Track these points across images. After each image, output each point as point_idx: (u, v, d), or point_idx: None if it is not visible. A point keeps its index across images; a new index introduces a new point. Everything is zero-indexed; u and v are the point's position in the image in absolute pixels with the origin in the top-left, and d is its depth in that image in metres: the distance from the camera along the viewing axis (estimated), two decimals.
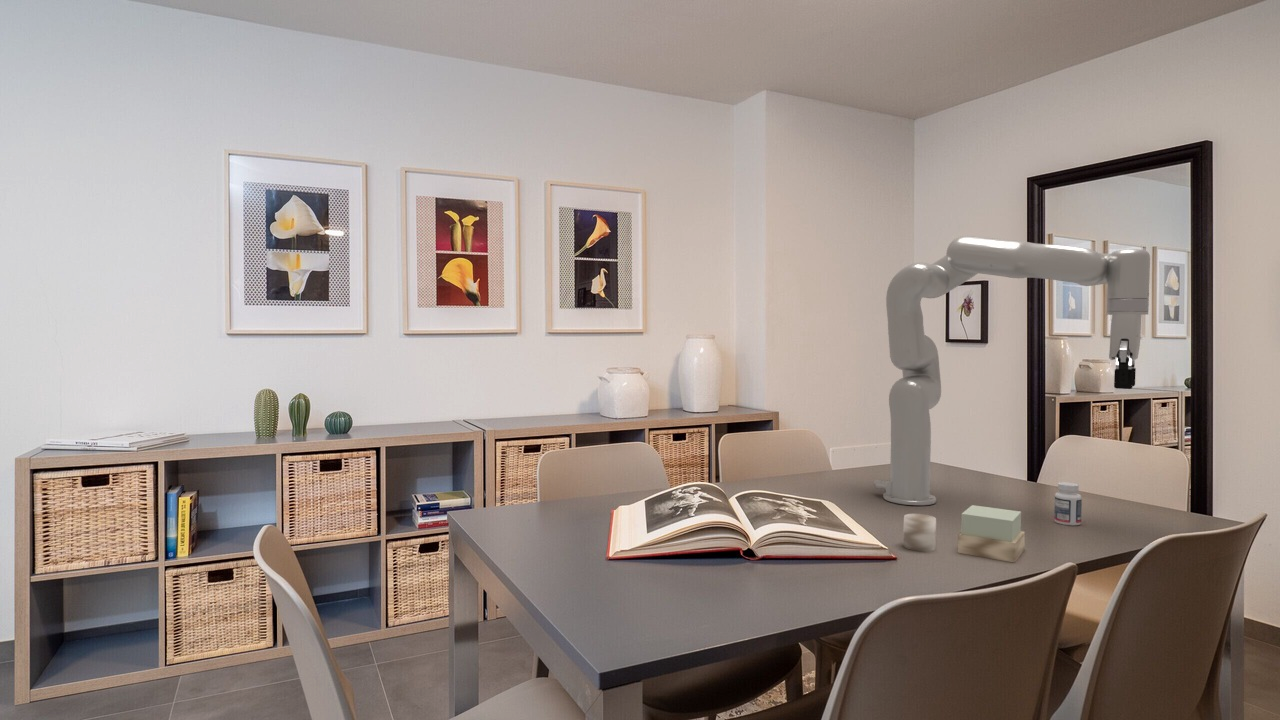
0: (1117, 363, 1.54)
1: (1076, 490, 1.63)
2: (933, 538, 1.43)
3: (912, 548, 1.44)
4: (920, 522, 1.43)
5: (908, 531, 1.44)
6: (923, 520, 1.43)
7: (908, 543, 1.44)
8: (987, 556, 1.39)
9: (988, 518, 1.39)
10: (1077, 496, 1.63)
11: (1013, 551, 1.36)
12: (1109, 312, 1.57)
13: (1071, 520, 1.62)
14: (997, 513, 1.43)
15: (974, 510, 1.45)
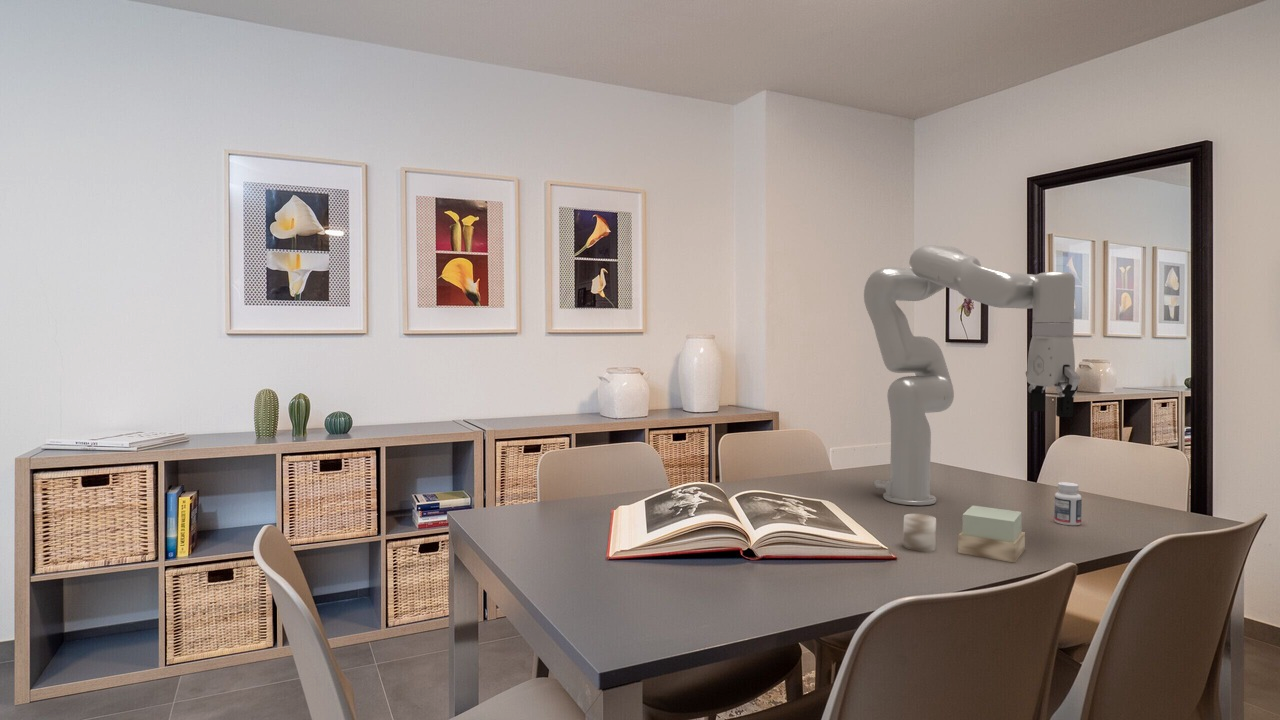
0: (1062, 390, 1.47)
1: (1076, 490, 1.63)
2: (933, 538, 1.43)
3: (912, 548, 1.44)
4: (920, 522, 1.43)
5: (908, 531, 1.44)
6: (923, 520, 1.43)
7: (908, 543, 1.44)
8: (987, 556, 1.39)
9: (989, 519, 1.39)
10: (1077, 496, 1.63)
11: (1013, 551, 1.36)
12: (1043, 336, 1.50)
13: (1071, 520, 1.62)
14: (998, 513, 1.42)
15: (975, 510, 1.45)
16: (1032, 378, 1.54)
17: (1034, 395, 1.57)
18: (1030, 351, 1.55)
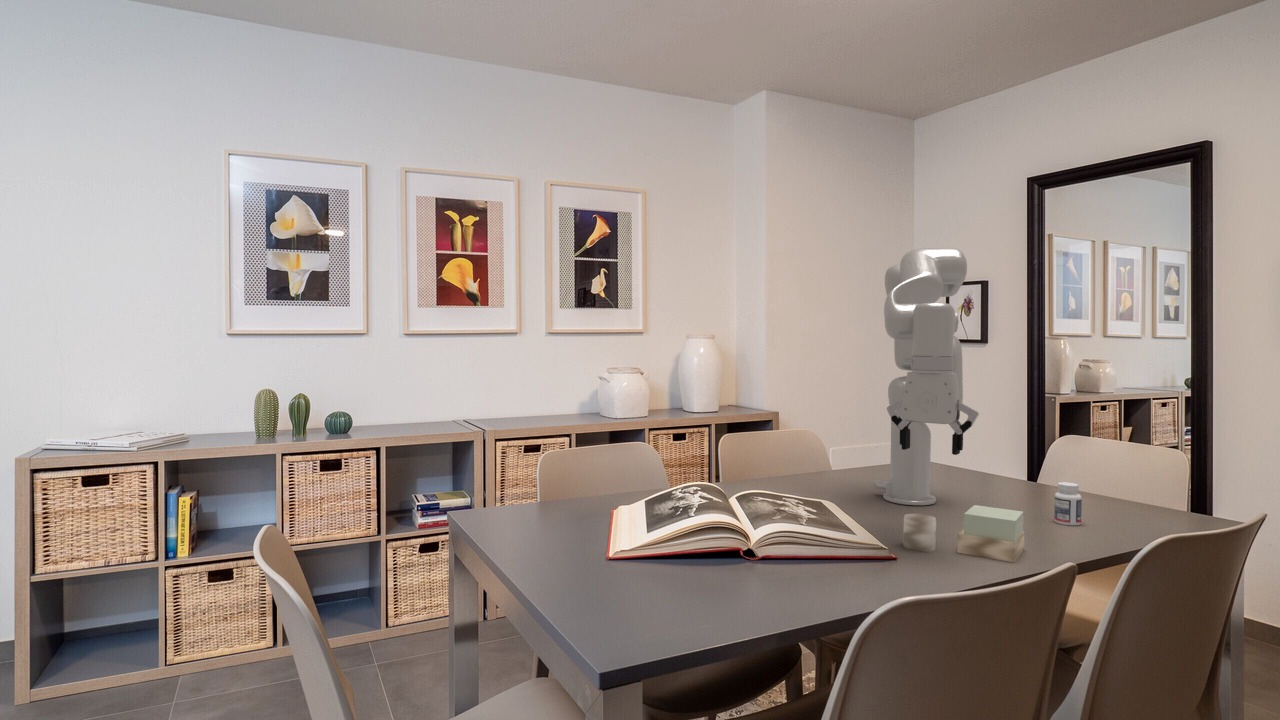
0: (960, 427, 1.41)
1: (1076, 490, 1.63)
2: (933, 538, 1.43)
3: (912, 548, 1.44)
4: (920, 522, 1.43)
5: (908, 531, 1.44)
6: (923, 520, 1.43)
7: (908, 543, 1.44)
8: (987, 556, 1.39)
9: (991, 518, 1.39)
10: (1077, 496, 1.63)
11: (1013, 551, 1.36)
12: (938, 371, 1.41)
13: (1071, 520, 1.62)
14: (999, 513, 1.42)
15: (976, 510, 1.45)
16: (917, 415, 1.44)
17: (906, 432, 1.47)
18: (910, 386, 1.45)
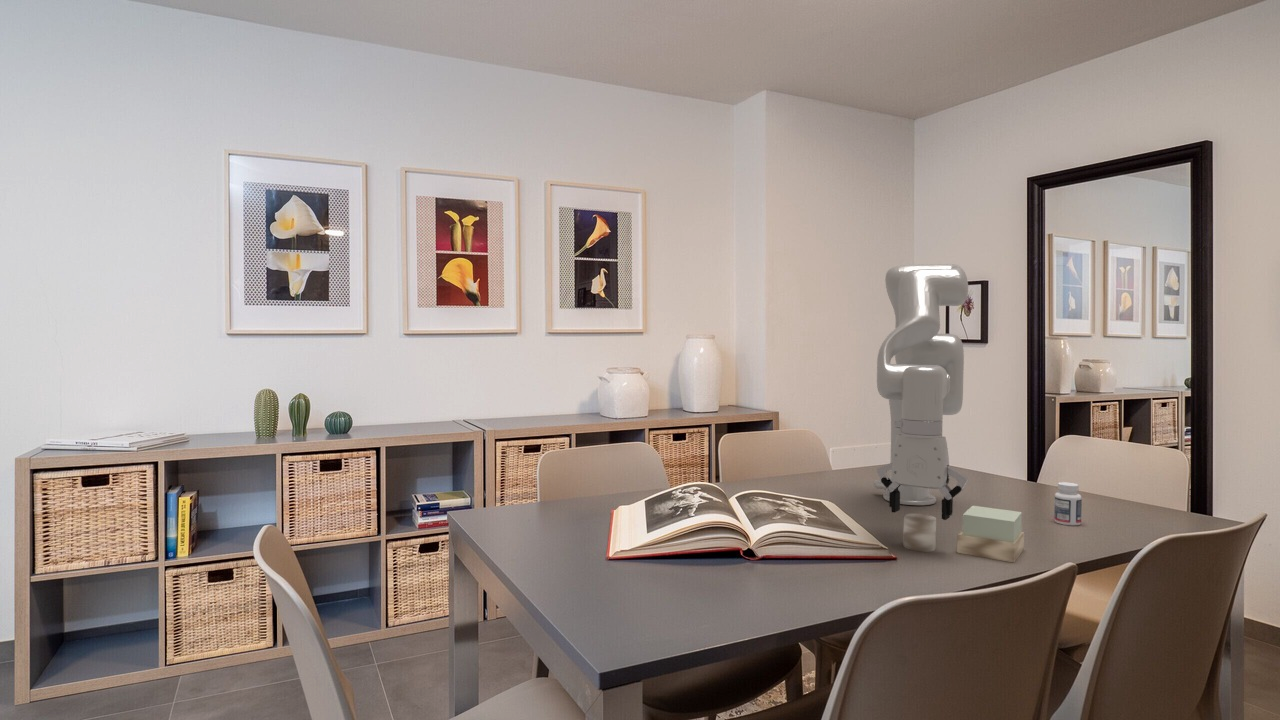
0: (949, 492, 1.40)
1: (1076, 490, 1.63)
2: (933, 538, 1.43)
3: (912, 548, 1.44)
4: (920, 522, 1.43)
5: (908, 531, 1.44)
6: (923, 520, 1.43)
7: (908, 543, 1.44)
8: (986, 556, 1.39)
9: (989, 519, 1.39)
10: (1077, 496, 1.63)
11: (1012, 551, 1.36)
12: (928, 436, 1.41)
13: (1071, 520, 1.62)
14: (998, 514, 1.42)
15: (975, 511, 1.45)
16: (906, 479, 1.44)
17: (896, 495, 1.47)
18: (900, 449, 1.45)
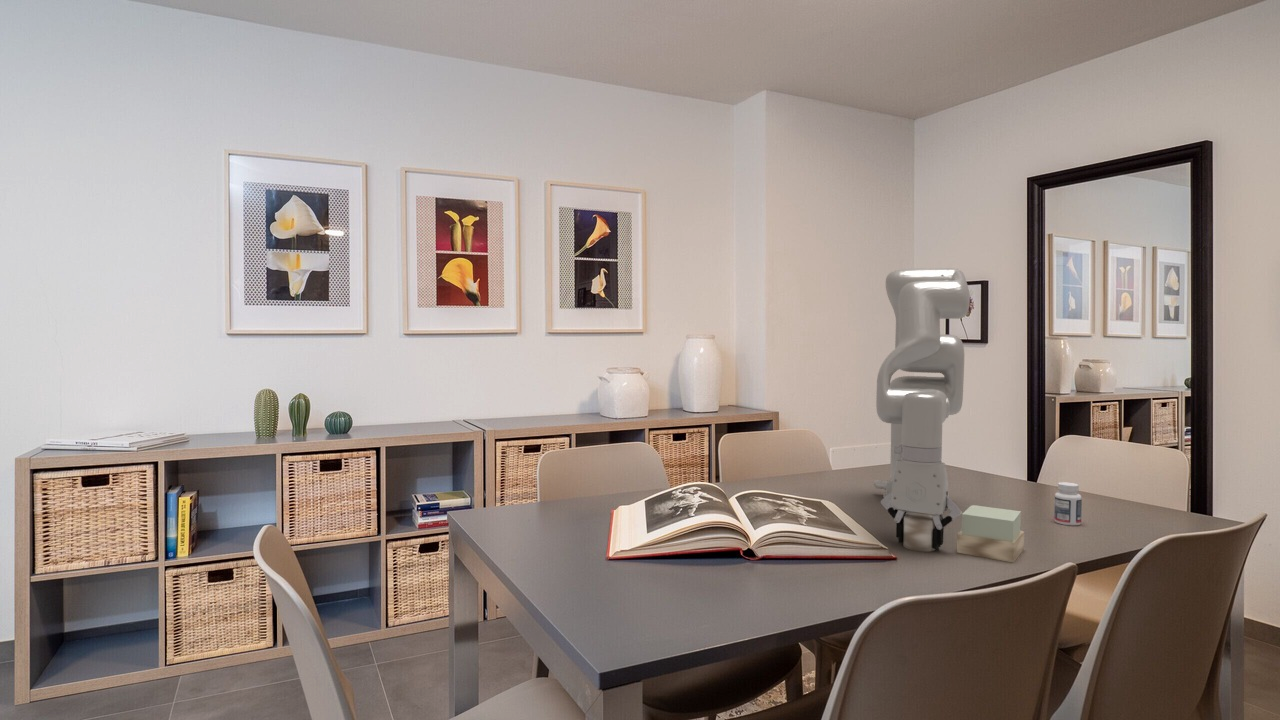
0: (941, 523, 1.42)
1: (1076, 490, 1.63)
2: None
3: (912, 548, 1.44)
4: (920, 522, 1.43)
5: (908, 531, 1.44)
6: (923, 520, 1.43)
7: (908, 543, 1.44)
8: (986, 556, 1.39)
9: (989, 518, 1.39)
10: (1077, 496, 1.63)
11: (1012, 551, 1.36)
12: (927, 463, 1.41)
13: (1071, 520, 1.62)
14: (997, 513, 1.42)
15: (974, 510, 1.45)
16: (906, 505, 1.44)
17: (903, 526, 1.47)
18: (899, 475, 1.45)
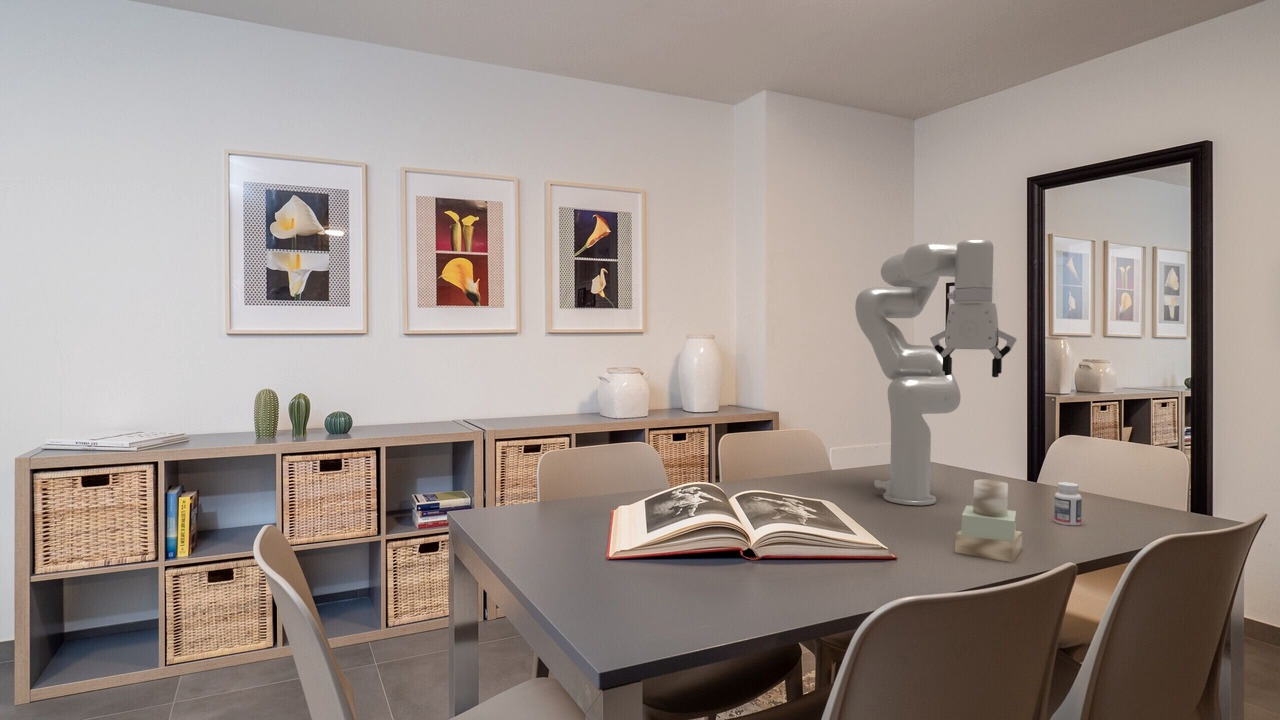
0: (999, 352, 1.55)
1: (1076, 490, 1.63)
2: (1005, 503, 1.40)
3: (984, 513, 1.41)
4: (992, 487, 1.40)
5: (979, 496, 1.41)
6: (995, 485, 1.40)
7: (979, 509, 1.41)
8: (984, 556, 1.39)
9: (989, 519, 1.39)
10: (1077, 496, 1.63)
11: (1010, 551, 1.36)
12: (980, 301, 1.55)
13: (1071, 520, 1.62)
14: None
15: (972, 511, 1.44)
16: (959, 342, 1.58)
17: (949, 359, 1.61)
18: (953, 316, 1.59)
